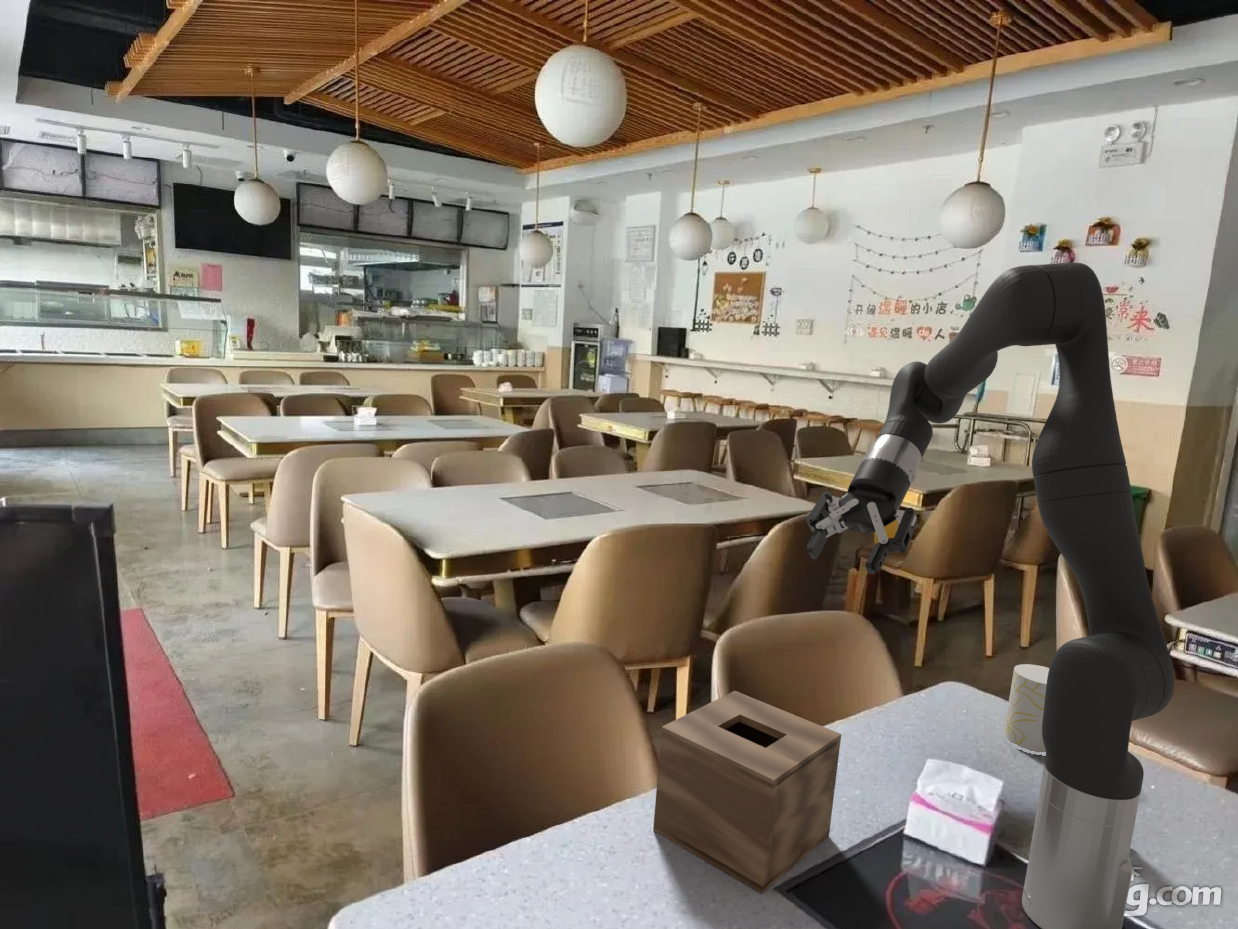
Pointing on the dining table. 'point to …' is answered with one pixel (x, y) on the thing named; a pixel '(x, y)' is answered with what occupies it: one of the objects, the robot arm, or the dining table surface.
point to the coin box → (746, 787)
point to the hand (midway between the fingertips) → (839, 562)
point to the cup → (1027, 707)
